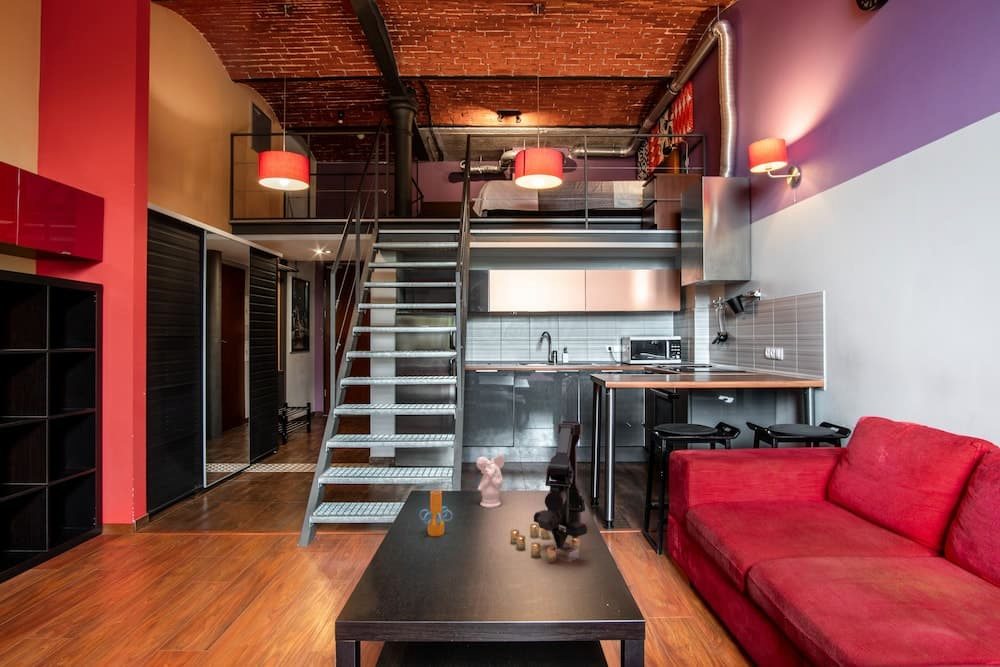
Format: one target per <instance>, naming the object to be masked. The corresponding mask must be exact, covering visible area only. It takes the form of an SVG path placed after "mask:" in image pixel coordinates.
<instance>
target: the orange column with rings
mask: <svg viewBox="0 0 1000 667" xmlns="http://www.w3.org/2000/svg"><path fill="white" fill-rule="evenodd" d="M429 492H430V510H429V509H426V508H424V509H421V510H420V512H419V516H418V517H419V519H420V520H421V521H423V523H424V525H427V535H428V536H431V537H439V536H443V535H444V534H445V522H451V521H452V520H453V518H454V515H453V511H451V510H449V509H448V507H447V506H445V505H443V504H442V503H443V498H442V496H443V494H442V492H443V491H442V490H439V489H434V490H431V491H429ZM424 512H426V513H425V514H424V516H422V514H423V513H424ZM448 513H449V514H450V517H449V518H448V519H447V518H446V517H447V516H448Z"/></svg>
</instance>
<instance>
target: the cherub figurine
mask: <svg viewBox="0 0 1000 667" xmlns="http://www.w3.org/2000/svg"><path fill="white" fill-rule="evenodd" d="M505 461H506V458H505V455H504V454H503V453H501V454H499V455H497V456H495V457H493V458H492V459H491V460H489V459H488V457H485V456H479V457H478V458H477V460H476V467H477V468H478V469H479V470H480V471H481V472H480V473H481V474H483V475H482V478H481V480H480V483H479V484H478V487H477V490H478V491H479V492H480V493H481V496H482V498H481V501H480V504H479V505H480V506H481V507H483V508H488V509H495V508H498V507H499V506H501V504H502V503H501V501H500V498H499V496H500V494H501V492H500V491H501V490H500V487H502V486H503V484H504V480H503V476H502V471H501V468H503V467H504V466H505Z"/></svg>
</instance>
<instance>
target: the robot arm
mask: <svg viewBox="0 0 1000 667" xmlns="http://www.w3.org/2000/svg"><path fill="white" fill-rule="evenodd" d="M557 434H559V435H558V441H557V446H556V452H555V455H554V456H552V457H551V459H550V462H549V464H548V465H547V467H546V468H547V469H546V478H545V487H549V491H548V492H547V494H546V496H545V498H544V504H545V507H546V508H547V509H543V510H540V511H537V512H535V513H534V515H533V522H534V523H536V524H538V525H539V529H541V528H543V529H545V530H546V531H550V532H551V533H552V536H553V539H554V542H555V546H556V549H557V548H559V547H561V546H563V544H564V542H565V540H566V538H567V539H568V536H570V537H578V538H580V536H584V535H587V534H588V527H587V525H586V524H585V523H582V522H581V520H582V516H581V515H582V514H581V513H583V512H586V501H585V499H584V496H583V495H582V489H581V487H580V486H579V484H578V465H577V464H578V462H577V461H578V454H577V453H578V452H577V451H578V450H577V449H578V448H577V447H578V446H577V445H578V442H579V441H580V439H581V437H582V434H583V424H582V423H580V421H578V420H562V422H561V423H559V422H558V423H557Z"/></svg>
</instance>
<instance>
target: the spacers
mask: <svg viewBox="0 0 1000 667" xmlns="http://www.w3.org/2000/svg"><path fill="white" fill-rule="evenodd" d="M539 529H541V530H539ZM550 532H551V531H546V530H545V529H543V528H540V527H539V524H538V523H531V524H529V534H530V535H529V536H530V538H531V539H538V538H539V534H541V535H540V538H541V539H542V540H544V539H547V540H550V539H551V538H550V536H551V534H550ZM549 538H550V539H549ZM580 541H581V540H580V537H572V536H570V545H571V546H574V547H576V548H579V553H580V552H581V542H580ZM510 544H511V545H516V547H515V549H516V550H517V551H519V552H522V551H526V535H522V534H520V530H518V529H511V530H510ZM565 544H568V537H567V538H566V540H565V542H564V544H563V545H565ZM530 558H532V559H540V558H541V543H540V542H538V541H535V542H531V544H530ZM546 562H547V564H550V565H554V564H557V547H554V546H550V547H547V548H546Z"/></svg>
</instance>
